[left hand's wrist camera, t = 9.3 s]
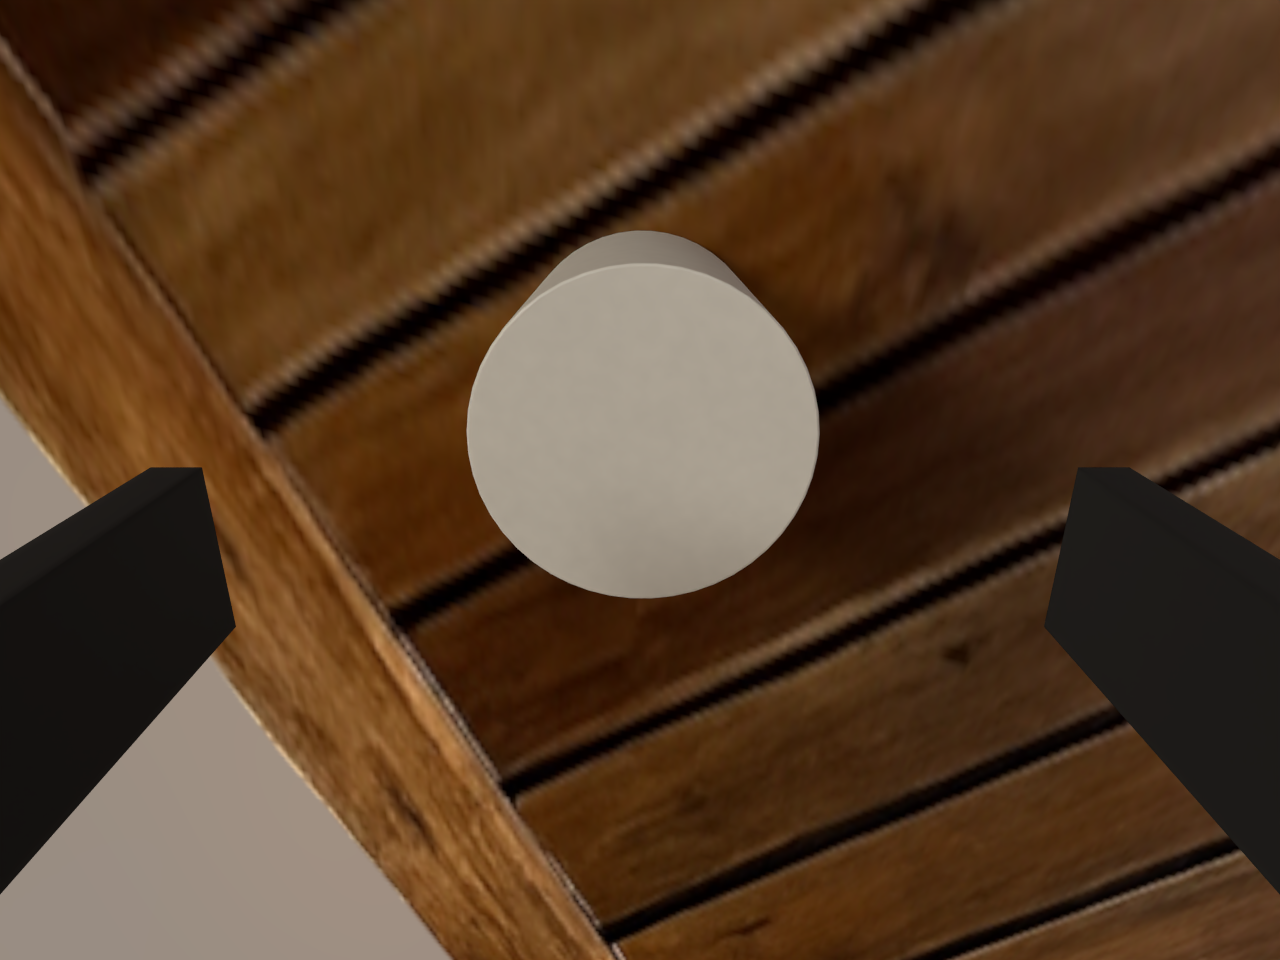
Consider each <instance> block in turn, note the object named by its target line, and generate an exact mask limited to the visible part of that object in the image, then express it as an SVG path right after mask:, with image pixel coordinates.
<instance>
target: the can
mask: <svg viewBox="0 0 1280 960" xmlns="http://www.w3.org/2000/svg"><path fill="white" fill-rule="evenodd" d="M819 434H820V433H819V412H818V406H817V401H816V395H815V390H814V387H813V384H812V381H811V378H810V375H809V372H808V369H807V367H806V365H805V363H804V361H803V359H802V357H801V355H800V353H799V351H798V349H797V347H796V346H795V344H794V343H793V341H792V340H791V338H790V337H789V336H788V334H787V333H786V331H785V330H784V328H783V327H782V326H781V325H780V324H779V323H778V322H777V321H776V319H775V318H774V317H773V316H772V315H771V314H770V313H769V312H768V311H767V310H766V308H765V307H764V306H763V305H762V304H761V303H760V302H759V301H758V300H757V298H756V297H755V296H754V295H753V294H752V293H751V292H750V291H749V290H748V288H747V287H746V286H745V285H744V284H743V283H742V282H741V281H740V280H739V278H738V277H737V276H736V275H735V274H734V273H733V272H732V271H731V270H730V269H729V267H728V266H727V265H726V264H725V263H724V262H722V261H721V260H720V259H719V258H718V257H716V256H715V255H714V254H713V253H711V252H710V251H708V250H706V249H705V248H703V247H702V246H700V245H698V244H696V243H694V242H692V241H689V240H687V239H685V238H682V237H679V236H675V235H672V234H668V233H662V232H655V231H629V232H622V233H616V234H613V235H609V236H605V237H602V238H600V239H597V240H595V241H593V242H590V243H588V244H586V245H584V246H583V247H581V248H579V249H578V250H576V251H574V252H573V253H572V254H570V255H569V256H568V257H567V258H565V259H564V260H563V261H562V262H560V264H559V265H558V266H557V267H556V268H555V269H554V270H553V271H552V272H551V273H550V274H549V275H548V276H547V278H546V279H545V280H544V281H543V282H542V283H541V285H540V286H539V287H538V288H537V289H536V290H535V292H534V293H533V294H532V295H531V296H530V297H529V299H528V300H527V301H526V302H525V303H524V304H523V306H522V307H521V308H520V309H519V310H518V311H517V313H516V314H515V315H514V316H513V317H512V318H511V320H510V321H509V322H508V323H507V324H506V325H505V327H504V328H503V329H502V331H501V332H500V334H499V335H498V336H497V338H496V339H495V341H494V342H493V343H492V345H491V346H490V348H489V350H488V352H487V354H486V356H485V358H484V360H483V362H482V364H481V366H480V368H479V371H478V374H477V376H476V379H475V382H474V385H473V388H472V393H471V398H470V402H469V407H468V419H467V442H468V454H469V459H470V464H471V468H472V473H473V476H474V479H475V482H476V485H477V487H478V490H479V493H480V496H481V497H482V499H483V501H484V503H485V505H486V507H487V509H488V511H489V513H490V515H491V516H492V518H493V519H494V520H495V522H496V523H497V525H498V526H499V528H500V529H501V530H502V532H503V533H504V534H505V535H506V536H507V537H508V539H509V540H510V541H511V542H512V543H513V544H514V545H515V546H516V547H517V548H518V549H519V550H520V551H521V552H522V553H523V554H525V555H526V556H527V557H528V558H529V559H530V560H532V561H533V562H534V563H536V564H537V565H539V566H540V567H542V568H543V569H545V570H546V571H548V572H549V573H551V574H552V575H554V576H556V577H558V578H560V579H562V580H564V581H566V582H568V583H570V584H573V585H576V586H578V587H581V588H584V589H587V590H589V591H593V592H598V593H602V594H606V595H610V596H618V597H626V598H659V597H668V596H675V595H680V594H684V593H688V592H693V591H696V590H699V589H702V588H705V587H707V586H710V585H713V584H715V583H717V582H719V581H721V580H724V579H726V578H728V577H730V576H732V575H734V574H735V573H737V572H738V571H740V570H741V569H743V568H744V567H746V566H747V565H749V564H750V563H752V562H753V561H754V560H755V559H757V558H758V557H759V556H760V555H761V554H763V553H764V552H765V551H766V550H767V549H768V548H769V547H770V546H771V545H772V544H773V543H774V542H775V541H776V540H777V539H778V537H779V536H780V535H781V534H782V533H783V532H784V530H785V529H786V527H787V526H788V525H789V523H790V522H791V520H792V519H793V518H794V516H795V515H796V513H797V511H798V509H799V507H800V505H801V503H802V502H803V500H804V498H805V496H806V493H807V490H808V488H809V485H810V482H811V480H812V477H813V473H814V469H815V464H816V460H817V456H818V445H819Z"/></svg>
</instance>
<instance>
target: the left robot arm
mask: <svg viewBox="0 0 1280 960" xmlns="http://www.w3.org/2000/svg"><path fill="white" fill-rule="evenodd" d="M235 627H236V625H235V620H234V616H233V611H232V606H231V602H230V597H229V592H228V588H227V583H226V578H225V574H224V569H223V564H222V560H221V555H220V550H219V546H218V541H217V536H216V532H215V527H214V522H213V518H212V513H211V508H210V503H209V499H208V494H207V489H206V485H205V480H204V475H203V471H202V468H149V469H147V470H146V471H144V472H143V473H141V474H139V475H138V476H136V477H134V478H133V479H131V480H130V481H128V482H126V483H125V484H123V485H121V486H120V487H118V488H116V489H115V490H113V491H112V492H110V493H108V494H107V495H105V496H103V497H102V498H100V499H99V500H97V501H95V502H94V503H92V504H90V505H89V506H87V507H86V508H84V509H82V510H81V511H79V512H77V513H76V514H74V515H72V516H71V517H69V518H68V519H66V520H64V521H63V522H61V523H59V524H58V525H56V526H55V527H53V528H51V529H50V530H48V531H46V532H45V533H43V534H42V535H40V536H38V537H37V538H35V539H33V540H32V541H30V542H28V543H27V544H25V545H24V546H22V547H20V548H19V549H17V550H15V551H14V552H12V553H11V554H9V555H7V556H6V557H4V558H3V559H1V560H0V894H1V893H2V892H3V891H4V889H5V888H6V887H7V886H8V885H9V884H10V883H11V881H12V880H13V879H14V878H15V877H16V876H17V875H18V873H19V872H20V871H21V870H22V869H23V868H24V867H25V866H26V864H27V863H28V862H29V861H30V860H31V859H32V858H33V857H34V855H35V854H36V853H37V852H38V851H39V850H40V849H41V847H42V846H43V845H44V844H45V843H46V842H47V841H48V839H49V838H50V837H51V836H52V835H53V834H54V833H55V831H56V830H57V829H58V828H59V827H60V826H61V825H62V824H63V822H64V821H65V820H66V819H67V818H68V817H69V816H70V814H71V813H72V812H73V811H74V810H75V809H76V808H77V807H78V805H79V804H80V803H81V802H82V801H83V800H84V799H85V797H86V796H87V795H88V794H89V793H90V792H91V791H92V789H93V788H94V787H95V786H96V785H97V784H98V783H99V782H100V780H101V779H102V778H103V777H104V776H105V775H106V774H107V772H108V771H109V770H110V769H111V768H112V767H113V766H114V764H115V763H116V762H117V761H118V760H119V759H120V758H121V756H122V755H123V754H124V753H125V752H126V751H127V750H128V749H129V747H130V746H131V745H132V744H133V743H134V742H135V741H136V739H137V738H138V737H139V736H140V735H141V734H142V733H143V731H144V730H145V729H146V728H147V727H148V726H149V725H150V724H151V722H152V721H153V720H154V719H155V718H156V717H157V716H158V714H159V713H160V712H161V711H162V710H163V709H164V708H165V706H166V705H167V704H168V703H169V702H170V701H171V700H172V699H173V697H174V696H175V695H176V694H177V693H178V692H179V691H180V689H181V688H182V687H183V686H184V685H185V684H186V683H187V681H188V680H189V679H190V678H191V677H192V676H193V675H194V674H195V672H196V671H197V670H198V669H199V668H200V667H201V666H202V664H203V663H204V662H205V661H206V660H207V659H208V658H209V656H210V655H211V654H212V653H213V652H214V651H215V650H216V649H217V647H218V646H219V645H220V644H221V643H222V642H223V641H224V639H225V638H226V637H227V636H228V635H229V634H230V633H231V631H232V630H233V629H234V628H235ZM1044 627H1045V628H1046V629H1047V630H1048V631H1049V633H1050V634H1051V635H1052V636H1053V637H1054V638H1055V639H1056V641H1057V642H1058V643H1059V644H1060V645H1061V646H1062V647H1063V649H1064V650H1065V651H1066V652H1067V653H1068V654H1069V655H1070V656H1071V658H1072V659H1073V660H1074V661H1075V662H1076V663H1077V664H1078V666H1079V667H1080V668H1081V669H1082V670H1083V671H1084V672H1085V674H1086V675H1087V676H1088V677H1089V678H1090V679H1091V680H1092V681H1093V683H1094V684H1095V685H1096V686H1097V687H1098V688H1099V689H1100V691H1101V692H1102V693H1103V694H1104V695H1105V696H1106V697H1107V699H1108V700H1109V701H1110V702H1111V703H1112V704H1113V705H1114V706H1115V708H1116V709H1117V710H1118V711H1119V712H1120V713H1121V714H1122V716H1123V717H1124V718H1125V719H1126V720H1127V721H1128V722H1129V724H1130V725H1131V726H1132V727H1133V728H1134V729H1135V730H1136V732H1137V733H1138V734H1139V735H1140V736H1141V737H1142V738H1143V739H1144V741H1145V742H1146V743H1147V744H1148V745H1149V746H1150V747H1151V749H1152V750H1153V751H1154V752H1155V753H1156V754H1157V755H1158V757H1159V758H1160V759H1161V760H1162V761H1163V762H1164V763H1165V764H1166V766H1167V767H1168V768H1169V769H1170V770H1171V771H1172V772H1173V774H1174V775H1175V776H1176V777H1177V778H1178V779H1179V780H1180V782H1181V783H1182V784H1183V785H1184V786H1185V787H1186V788H1187V789H1188V791H1189V792H1190V793H1191V794H1192V795H1193V796H1194V797H1195V799H1196V800H1197V801H1198V802H1199V803H1200V804H1201V805H1202V807H1203V808H1204V809H1205V810H1206V811H1207V812H1208V813H1209V814H1210V816H1211V817H1212V818H1213V819H1214V820H1215V821H1216V822H1217V824H1218V825H1219V826H1220V827H1221V828H1222V829H1223V830H1224V832H1225V833H1226V834H1227V835H1228V836H1229V837H1230V838H1231V839H1232V841H1233V842H1234V843H1235V844H1236V845H1237V846H1238V847H1239V849H1240V850H1241V851H1242V852H1243V853H1244V854H1245V855H1246V857H1247V858H1248V859H1249V860H1250V861H1251V862H1252V863H1253V864H1254V866H1255V867H1256V868H1257V869H1258V870H1259V871H1260V872H1261V874H1262V875H1263V876H1264V877H1265V878H1266V879H1267V880H1268V882H1269V883H1270V884H1271V885H1272V886H1273V887H1274V888H1275V889H1276V891H1277V892H1278V893H1279V894H1280V560H1279V559H1278V558H1276V557H1274V556H1273V555H1271V554H1269V553H1268V552H1266V551H1265V550H1263V549H1261V548H1260V547H1258V546H1256V545H1255V544H1253V543H1252V542H1250V541H1248V540H1247V539H1245V538H1243V537H1242V536H1240V535H1238V534H1237V533H1235V532H1234V531H1232V530H1230V529H1229V528H1227V527H1225V526H1224V525H1222V524H1221V523H1219V522H1217V521H1216V520H1214V519H1212V518H1211V517H1209V516H1208V515H1206V514H1204V513H1203V512H1201V511H1199V510H1198V509H1196V508H1194V507H1193V506H1191V505H1190V504H1188V503H1186V502H1185V501H1183V500H1181V499H1180V498H1178V497H1177V496H1175V495H1173V494H1172V493H1170V492H1168V491H1167V490H1165V489H1164V488H1162V487H1160V486H1159V485H1157V484H1155V483H1154V482H1152V481H1150V480H1149V479H1147V478H1146V477H1144V476H1142V475H1141V474H1139V473H1137V472H1136V471H1134V470H1133V469H1131V468H1078V471H1077V475H1076V480H1075V485H1074V489H1073V494H1072V499H1071V503H1070V508H1069V513H1068V517H1067V522H1066V527H1065V532H1064V536H1063V541H1062V546H1061V550H1060V555H1059V560H1058V564H1057V569H1056V574H1055V578H1054V583H1053V588H1052V592H1051V597H1050V602H1049V606H1048V611H1047V616H1046V620H1045V625H1044Z"/></svg>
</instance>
